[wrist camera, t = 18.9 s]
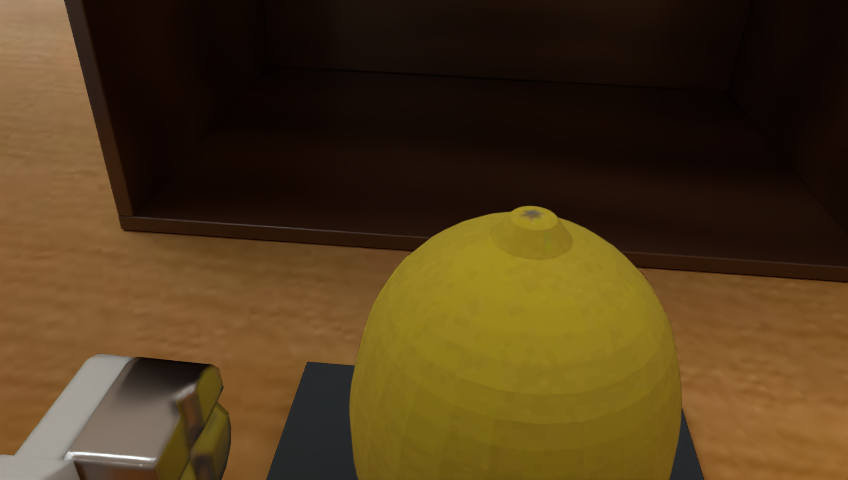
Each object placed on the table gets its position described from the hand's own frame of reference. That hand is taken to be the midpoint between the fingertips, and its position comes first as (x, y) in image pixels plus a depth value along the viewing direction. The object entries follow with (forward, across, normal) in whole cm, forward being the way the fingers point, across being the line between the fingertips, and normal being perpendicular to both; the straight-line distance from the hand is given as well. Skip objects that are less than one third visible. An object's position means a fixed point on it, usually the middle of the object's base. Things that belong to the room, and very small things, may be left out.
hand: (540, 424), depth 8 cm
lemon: (+2, 0, +7) cm, 7 cm away
